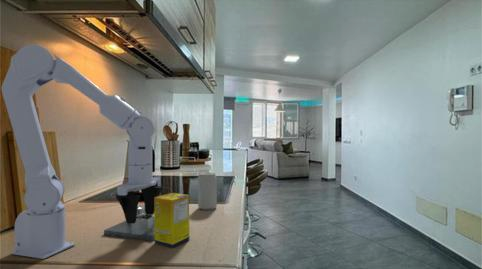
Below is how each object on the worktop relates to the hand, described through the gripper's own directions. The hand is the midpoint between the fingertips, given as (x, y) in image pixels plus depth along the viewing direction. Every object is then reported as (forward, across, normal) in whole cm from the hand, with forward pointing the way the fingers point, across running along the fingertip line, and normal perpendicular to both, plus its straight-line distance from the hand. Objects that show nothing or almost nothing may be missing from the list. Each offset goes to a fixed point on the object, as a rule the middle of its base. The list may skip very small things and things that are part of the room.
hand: (140, 218), depth 73 cm
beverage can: (+5, +29, -5) cm, 30 cm away
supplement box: (+5, -1, -10) cm, 11 cm away
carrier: (+4, +5, +2) cm, 7 cm away
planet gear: (+3, 0, 0) cm, 3 cm away
